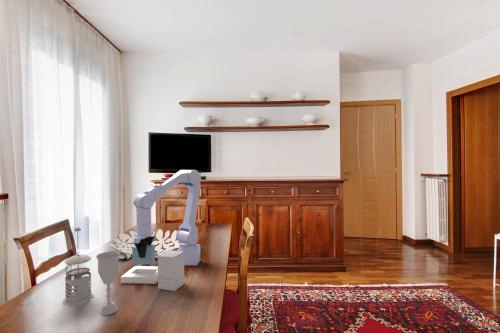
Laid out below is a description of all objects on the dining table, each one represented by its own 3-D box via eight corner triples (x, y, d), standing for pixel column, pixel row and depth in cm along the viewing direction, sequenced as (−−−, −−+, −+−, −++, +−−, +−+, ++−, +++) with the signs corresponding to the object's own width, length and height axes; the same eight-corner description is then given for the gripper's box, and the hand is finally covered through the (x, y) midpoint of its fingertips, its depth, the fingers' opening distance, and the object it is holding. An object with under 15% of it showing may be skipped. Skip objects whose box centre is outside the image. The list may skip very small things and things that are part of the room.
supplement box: (185, 283, 112) (184, 251, 112) (174, 291, 105) (173, 257, 105) (168, 281, 115) (168, 249, 115) (157, 288, 108) (156, 255, 108)
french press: (70, 308, 94) (69, 232, 93) (53, 299, 100) (52, 228, 100) (100, 296, 102) (99, 226, 102) (82, 289, 108) (81, 222, 108)
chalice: (102, 305, 95) (102, 251, 95) (123, 304, 96) (123, 250, 96) (92, 317, 88) (91, 258, 88) (115, 316, 89) (114, 258, 88)
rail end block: (154, 261, 120) (154, 244, 120) (151, 264, 117) (151, 247, 117) (136, 261, 121) (136, 244, 121) (132, 264, 117) (132, 247, 117)
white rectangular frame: (166, 272, 125) (166, 266, 125) (155, 283, 113) (155, 277, 113) (134, 271, 125) (134, 266, 125) (120, 283, 113) (120, 276, 113)
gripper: (142, 219, 126) (142, 250, 126) (126, 227, 112) (126, 261, 112) (157, 219, 126) (158, 250, 126) (143, 227, 111) (144, 262, 111)
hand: (144, 255), depth 119 cm, fingers closed on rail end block, 3 cm apart
